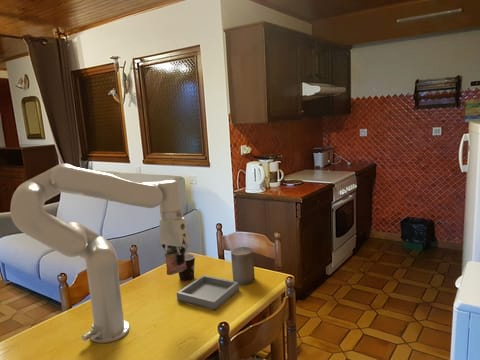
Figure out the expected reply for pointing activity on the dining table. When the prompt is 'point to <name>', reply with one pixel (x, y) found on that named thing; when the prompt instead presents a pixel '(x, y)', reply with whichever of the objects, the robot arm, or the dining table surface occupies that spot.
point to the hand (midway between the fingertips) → (176, 262)
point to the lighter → (174, 261)
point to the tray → (208, 292)
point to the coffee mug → (188, 268)
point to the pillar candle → (243, 265)
